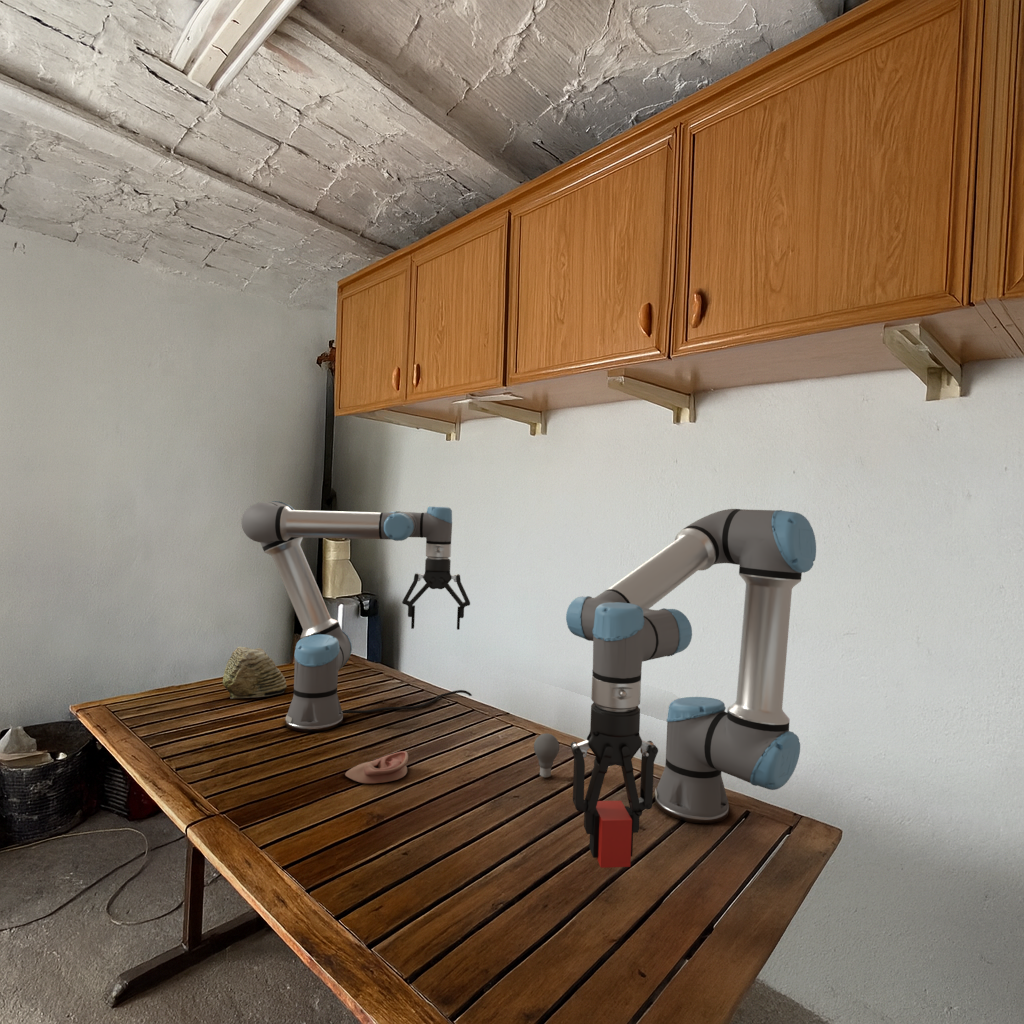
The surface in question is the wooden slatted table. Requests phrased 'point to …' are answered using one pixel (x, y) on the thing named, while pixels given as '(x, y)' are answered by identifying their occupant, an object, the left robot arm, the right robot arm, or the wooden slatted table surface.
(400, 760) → the anatomical model
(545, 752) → the light bulb
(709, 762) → the right robot arm
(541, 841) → the wooden slatted table surface
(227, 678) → the fossil
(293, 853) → the wooden slatted table surface
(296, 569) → the left robot arm
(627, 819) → the block
